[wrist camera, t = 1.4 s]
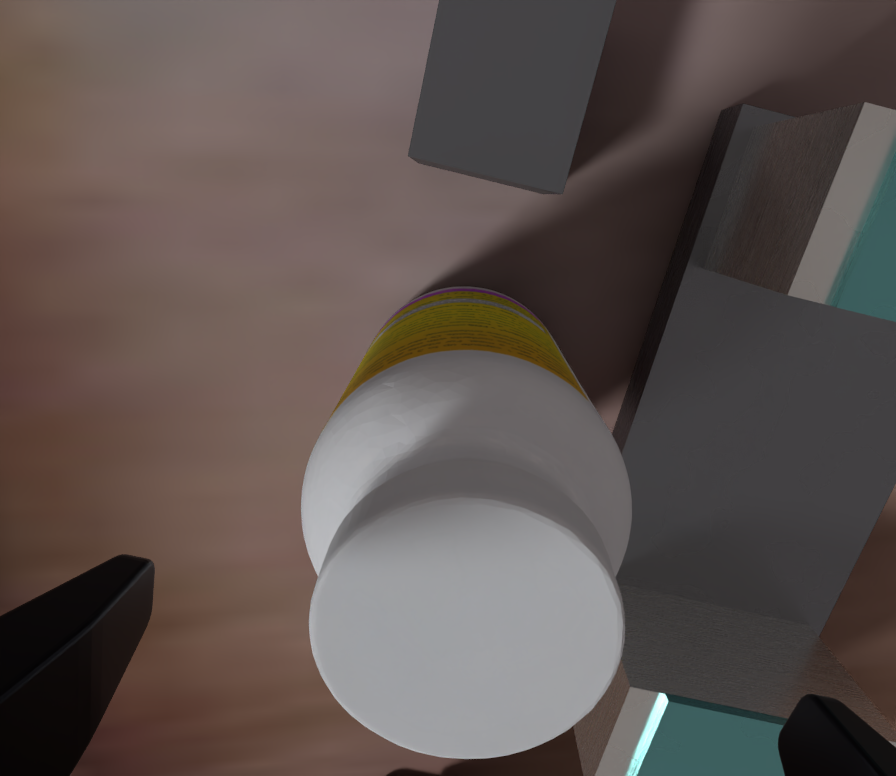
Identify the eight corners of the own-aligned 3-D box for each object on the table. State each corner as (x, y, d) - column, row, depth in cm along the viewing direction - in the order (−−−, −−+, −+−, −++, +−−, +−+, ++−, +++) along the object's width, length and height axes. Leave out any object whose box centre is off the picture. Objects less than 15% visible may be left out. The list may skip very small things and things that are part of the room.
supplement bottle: (333, 329, 21) (149, 525, 9) (518, 250, 20) (608, 342, 8) (415, 495, 23) (359, 854, 10) (587, 429, 22) (751, 738, 9)
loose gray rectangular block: (542, 194, 20) (562, 194, 16) (418, 163, 19) (407, 155, 15) (589, 18, 18) (624, -29, 14) (455, -18, 18) (454, -75, 14)
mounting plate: (756, 694, 25) (859, 869, 18) (539, 649, 24) (567, 811, 18) (1002, 182, 19) (1279, 177, 13) (721, 110, 19) (859, 66, 12)
